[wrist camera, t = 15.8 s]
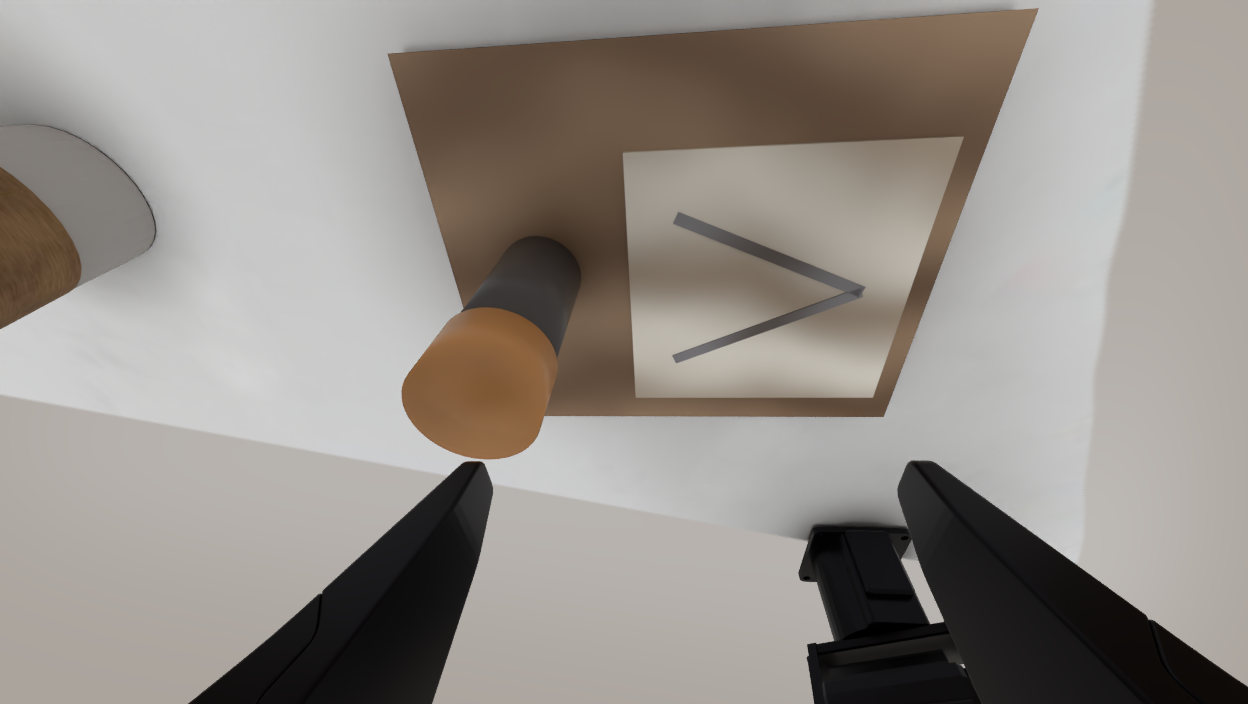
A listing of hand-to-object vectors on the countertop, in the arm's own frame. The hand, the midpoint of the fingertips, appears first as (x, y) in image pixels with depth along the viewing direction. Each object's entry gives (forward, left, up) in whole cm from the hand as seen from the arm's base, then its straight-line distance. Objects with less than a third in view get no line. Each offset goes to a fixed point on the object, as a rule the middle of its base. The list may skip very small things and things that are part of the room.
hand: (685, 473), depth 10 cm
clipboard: (-1, -1, -13) cm, 13 cm away
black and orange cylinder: (0, +6, -12) cm, 13 cm away
